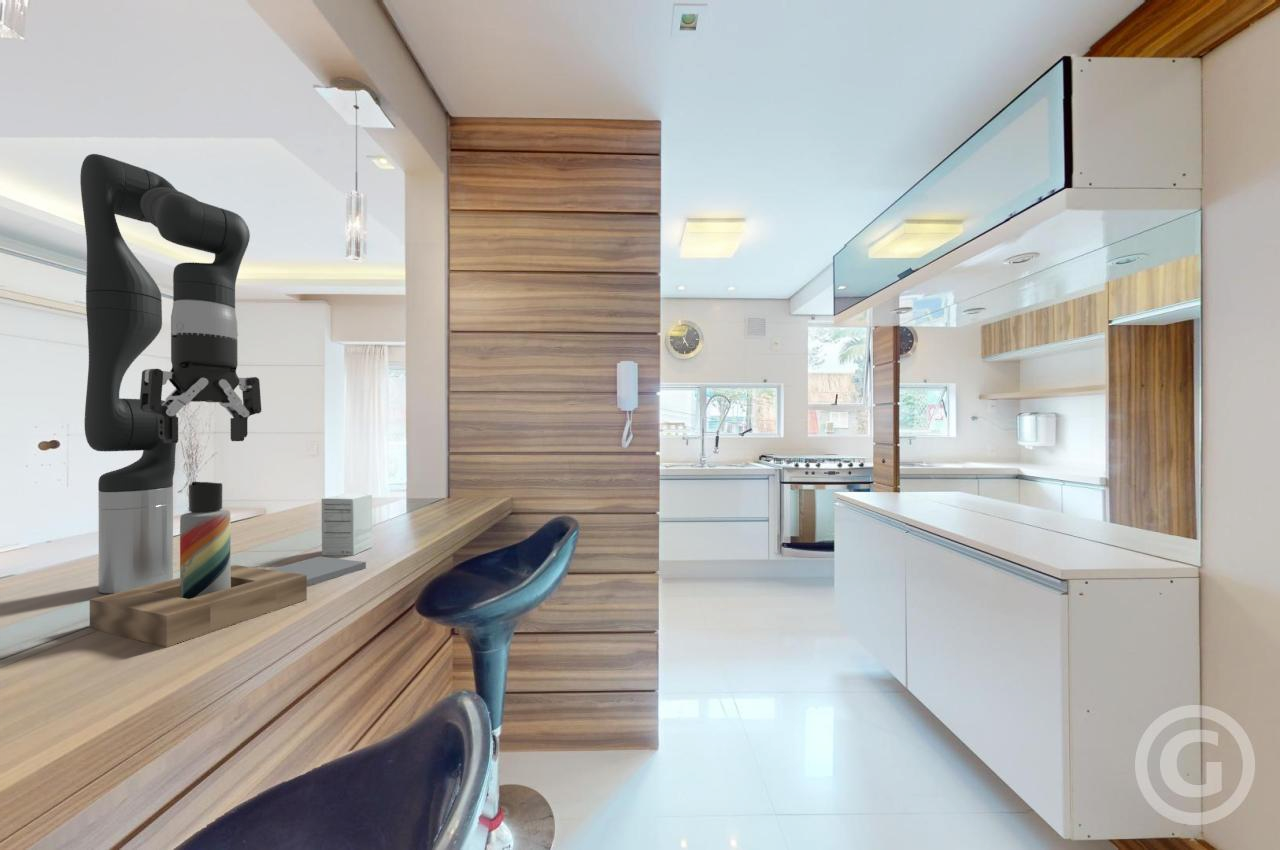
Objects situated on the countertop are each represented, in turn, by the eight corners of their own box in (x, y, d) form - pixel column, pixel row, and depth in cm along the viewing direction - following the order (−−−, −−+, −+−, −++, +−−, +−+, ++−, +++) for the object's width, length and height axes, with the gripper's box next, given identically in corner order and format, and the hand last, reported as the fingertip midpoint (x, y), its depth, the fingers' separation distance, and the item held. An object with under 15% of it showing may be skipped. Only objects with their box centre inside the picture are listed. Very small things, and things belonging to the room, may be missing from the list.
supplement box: (343, 547, 114) (342, 493, 114) (373, 547, 113) (373, 493, 113) (320, 555, 106) (320, 498, 106) (352, 556, 106) (352, 498, 106)
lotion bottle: (173, 616, 72) (172, 481, 72) (220, 603, 77) (219, 478, 77) (190, 623, 69) (190, 483, 70) (237, 609, 75) (237, 479, 75)
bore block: (89, 627, 68) (89, 599, 68) (234, 587, 85) (234, 564, 85) (166, 647, 62) (166, 615, 62) (306, 599, 79) (306, 575, 79)
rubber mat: (250, 580, 89) (250, 574, 89) (319, 562, 101) (319, 556, 101) (300, 588, 84) (300, 581, 84) (365, 568, 96) (365, 562, 96)
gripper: (241, 344, 82) (241, 440, 81) (128, 328, 68) (128, 443, 68) (271, 341, 79) (272, 440, 79) (160, 324, 66) (160, 443, 66)
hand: (205, 442), depth 73 cm, fingers open, 8 cm apart
